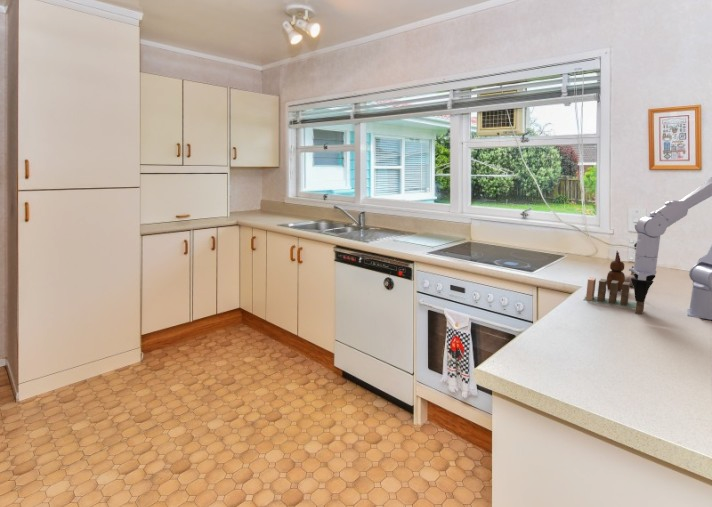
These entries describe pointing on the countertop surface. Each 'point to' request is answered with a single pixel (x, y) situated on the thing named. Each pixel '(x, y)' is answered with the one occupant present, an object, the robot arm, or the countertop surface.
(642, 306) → the domino
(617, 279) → the wooden figurine
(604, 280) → the domino
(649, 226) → the robot arm
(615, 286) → the domino
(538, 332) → the countertop surface
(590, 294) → the domino end
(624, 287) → the domino
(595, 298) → the mat
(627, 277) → the garlic bulb
